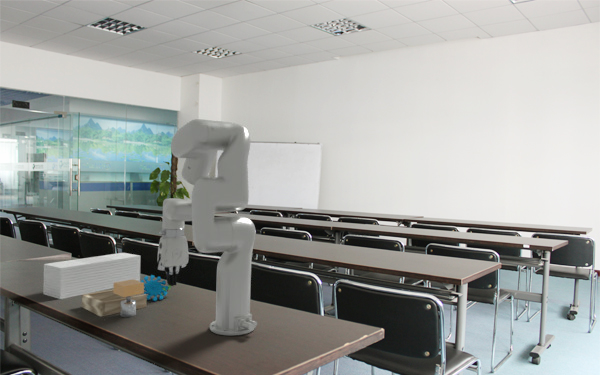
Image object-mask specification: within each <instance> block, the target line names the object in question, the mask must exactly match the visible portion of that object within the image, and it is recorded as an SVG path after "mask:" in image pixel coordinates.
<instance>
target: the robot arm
mask: <svg viewBox="0 0 600 375" xmlns="http://www.w3.org/2000/svg"><path fill="white" fill-rule="evenodd" d="M250 148H251V137H250V133H249V131H248V129H247V128H246V127H245V126H244V125H242V124H240V123H235V122H229V121H219V120H209V119H199V118H198V119H192V120H190V121H188V122H187V123H185V124H184V125H183V126H182V127H180V128H179V129H178V130H177V131H175V133H174V135H173V137H172V139H171V142H170V150H171V154H172V155H173V157H175V158H179V159H185V161H184V164H183V166H182V169H181V177H182V178H183V180H184V181H185V182H187V183H188V184H191V185H192V186H193V187H192V191H191V198H187V199H186V198H175V197H174V198H170V197H169V198H165V199H164V200H163V201H162V202H163V203H162V225H161V226H162V227H161V230H159V232H158V234H159V236H160V235H161V237H160V239H159V241H158V247H157V260H156V261H157V265H158V266H157V270H159V271H164V272H165V273H166V276H167V277H166V278H167V279H166V283H167V286H168V285H171V287H174V286H177V282H178V274H179V272H180V270H181V269H182V268H185V267H187V264H188V263H189V245H188V240H187V237H186V236H185V222H191V225H192V226H191V228H192V241H193V242H192V243H193V245H194V247H195V249H196V250H197V251H198V252H200V253H203V254H204V253H205V254H211V253H222V255H221V256H220V258H219V260H218V261H217V267H216V288H215V289H216V292H215V294H216V296H215V320H213V321H212V322H210V323H209V330H210V331H211V332H212V333H214V334H217V335H221V336H232V337H233V336H242V335H246V334H249V333H251V332H253V331H254V330H255V329H256V327H257V326H258V322H257V321H255V320H253V314H252V313H251V286H252V284H251V282H252V281H251V280H252V279H251V278H252V260H253V259H252V257H253V249H254V247H255V246H254V245H255V241H256V233H257V231H256V227H255V224H254V222H253V221H252V220H251V219H250V218H248V217H246V216H239V215H238V216H237V215H232V216H231V215H229V216H215V214H216V213H226V212H227V213H229V212H231V213H232V212H238V211H240V212H241V211H243V210H244V209H246V208H247V206H248V204H249V170H248V169H249V168H248V164H249V163H248V161H249V155H250ZM218 151H222V153H221V154H220V156H219V158H218V159H217V163H216V164H217V165H216V167H217V169H216V170H217V176H216V177H215V176H212V177H211V176H209V175H210V173H211V170H212V167H213V165H214V162H215V158H216V155H217V153H218Z"/></svg>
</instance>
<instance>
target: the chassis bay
mask: <svg viewBox="0 0 600 375" xmlns="http://www.w3.org/2000/svg"><path fill="white" fill-rule="evenodd" d="M147 295H148V294H142V295H141V294H138V295H133V296H131V300H135V301H136V310H139V309H145V308H147V303H148V302H147ZM124 300H126V297H122V296H119V295H117V294H115V293H113V288H111V289H106V290H101V291H96V292H92V293H87V294H82V295H81V308H83V309H84V310H87V311H89V312H91V313H92V314H95V315H96V316H98V317H100V318H101V317H106V316H110V315H115V314H120V311H121V301H124Z"/></svg>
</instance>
